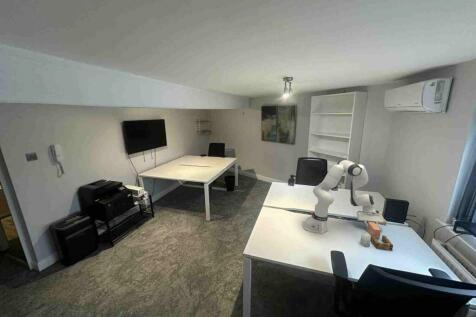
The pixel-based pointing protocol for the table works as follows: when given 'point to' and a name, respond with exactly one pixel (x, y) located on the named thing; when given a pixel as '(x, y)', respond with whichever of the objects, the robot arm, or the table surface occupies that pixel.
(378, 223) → the brick
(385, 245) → the lane
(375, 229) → the block
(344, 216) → the table surface
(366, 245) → the white rounded piece
